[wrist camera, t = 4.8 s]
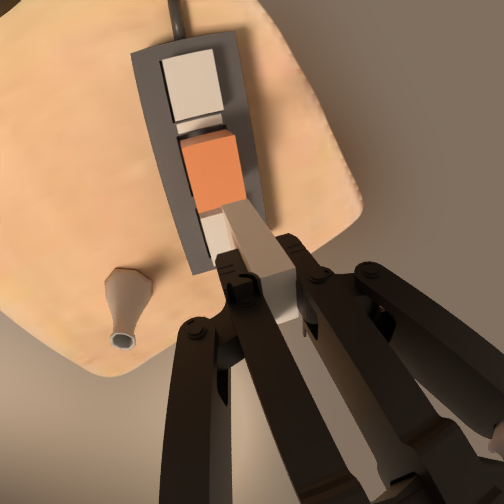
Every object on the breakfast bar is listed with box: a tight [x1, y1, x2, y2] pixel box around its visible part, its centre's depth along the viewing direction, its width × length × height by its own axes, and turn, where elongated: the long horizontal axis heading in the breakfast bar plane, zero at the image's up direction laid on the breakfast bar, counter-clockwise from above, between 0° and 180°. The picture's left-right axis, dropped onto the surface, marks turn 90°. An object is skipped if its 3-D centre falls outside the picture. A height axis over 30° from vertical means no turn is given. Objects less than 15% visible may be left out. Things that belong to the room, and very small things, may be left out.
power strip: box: [130, 0, 267, 275], centre depth 27 cm, size 32×10×4 cm, turn 9°
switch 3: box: [199, 207, 232, 266], centre depth 31 cm, size 6×4×4 cm
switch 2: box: [180, 129, 247, 213], centre depth 24 cm, size 6×4×4 cm
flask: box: [105, 269, 152, 350], centre depth 32 cm, size 7×7×10 cm
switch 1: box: [162, 49, 224, 122], centre depth 22 cm, size 6×4×4 cm
